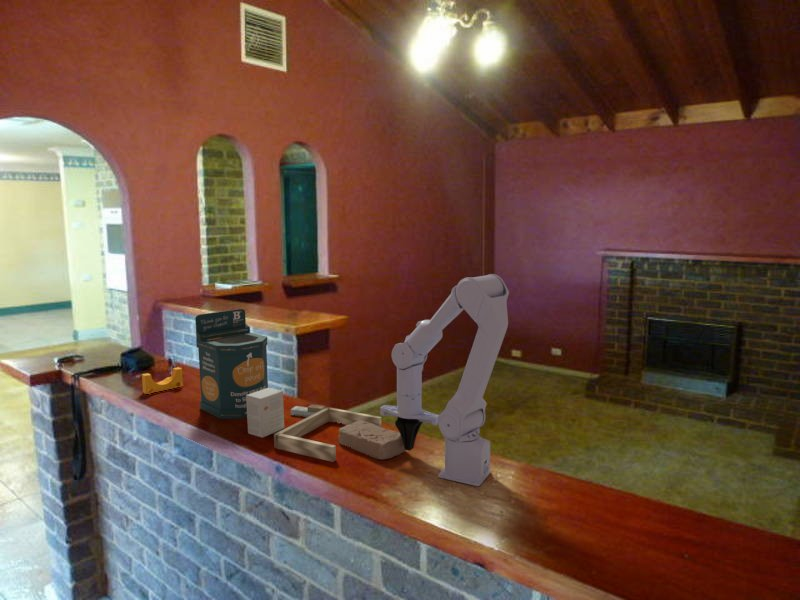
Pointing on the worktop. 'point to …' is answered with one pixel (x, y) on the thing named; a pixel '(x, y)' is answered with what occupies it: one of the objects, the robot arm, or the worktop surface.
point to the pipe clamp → (162, 382)
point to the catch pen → (291, 434)
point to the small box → (265, 412)
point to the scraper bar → (306, 410)
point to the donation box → (229, 363)
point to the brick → (371, 440)
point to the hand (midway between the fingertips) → (409, 448)
